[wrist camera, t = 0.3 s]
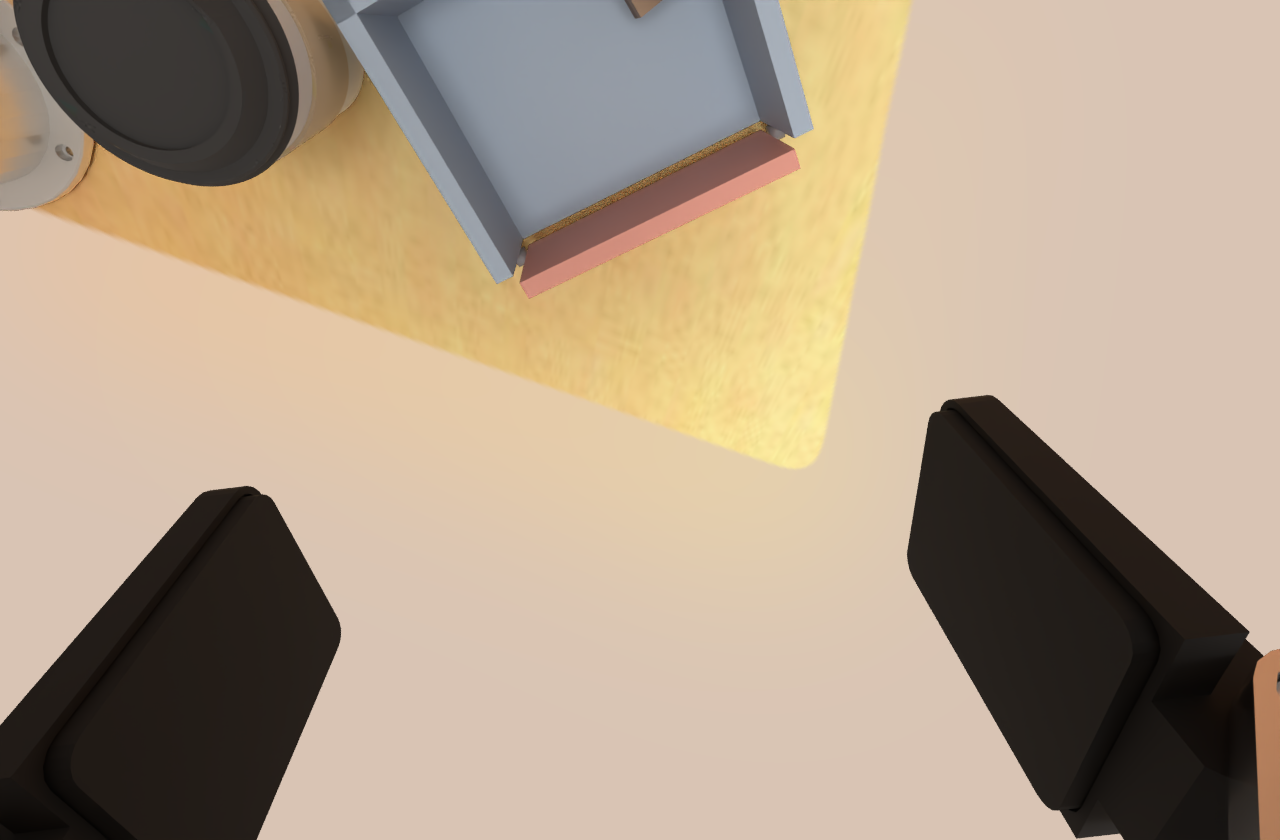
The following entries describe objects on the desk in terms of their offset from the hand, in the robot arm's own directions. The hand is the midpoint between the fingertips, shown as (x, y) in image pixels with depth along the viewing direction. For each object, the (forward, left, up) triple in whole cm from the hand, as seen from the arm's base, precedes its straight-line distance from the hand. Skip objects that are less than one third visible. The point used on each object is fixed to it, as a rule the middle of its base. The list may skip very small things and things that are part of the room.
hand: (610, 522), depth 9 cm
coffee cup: (-12, +11, -34) cm, 38 cm away
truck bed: (+2, +4, -34) cm, 34 cm away
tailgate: (+2, -4, -33) cm, 33 cm away
